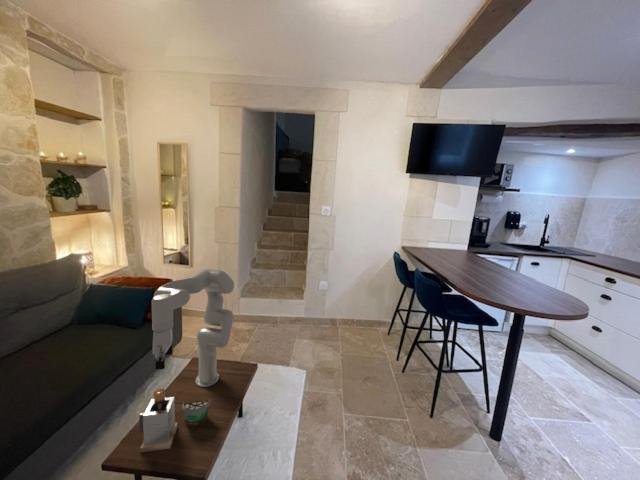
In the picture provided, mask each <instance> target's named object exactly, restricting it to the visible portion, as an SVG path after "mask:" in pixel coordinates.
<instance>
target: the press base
mask: <svg viewBox="0 0 640 480" xmlns="http://www.w3.org/2000/svg"><path fill="white" fill-rule="evenodd" d="M178 427H179V422H176V421H175V425H174V428H173V431H172V433H171V436H170V439H169V442H168V443H161V444H153V445H146V446H144V440H143V441H142V444H141V445H140V449H139V450H140V451H139V453H141V454H142V453H147V452H154V451H161V450H162V451H163V450H169V449H171V447H172V444H173V442H174V438H175V435H176V432H177V429H178Z"/></svg>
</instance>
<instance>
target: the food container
mask: <svg viewBox="0 0 640 480" xmlns="http://www.w3.org/2000/svg"><path fill="white" fill-rule="evenodd" d="M210 405H211V399H210V398H209V399H208V400H196V401H192V402H187V403H186V402H182V405H181V408H182V409H181V410H182V411H183V412H184V420H185V425H186V426H187V427H189V428H190V429H192V428H198V427H201V426H202V425H204V424H205V423H206V421H207V419H208V415H209V410H210V409H209V407H210Z"/></svg>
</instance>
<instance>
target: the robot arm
mask: <svg viewBox="0 0 640 480" xmlns="http://www.w3.org/2000/svg"><path fill="white" fill-rule="evenodd" d="M234 289H235V282H234V280H233V278H232V277H230V275H228V273H226V272H225V271H223V270H219V269H210V268H206V269H203V270H200V271H199V272H197V273H195V274H194V275H192V276H190V277H186V278H185V277H184V278H181V279H175V280H172V281H169V282H167V283H165V284H162V285H161V286H159V287H158V288H157V289H156V290H155V291H154V294H153V298H152V299H151V323H152V325H151V327H152V331H153V334H152V355H153V357H154V361H155V364H154V365H155V370H156V371H157V370H158V371H159V370H165V368H166V366H165V362H166V361H165V359H164V358H165V356H167V355H168V356H170V355H172V354H173V328H174V310H176V309H179V308H182V307H185V306H186V305H187V304H188V302H190V299H191V295H194V294H198V293H200V292H202V291H203V290H205V293H206V296H207V305H206V309H205V313H204V318H203V323H205V324H206V325H208V326H214V327H208V326H207V327H202V328H200V329H199V330H198V332H197V335H196V341H197V342H196V343H197V347H198V375H197V376H196V378H195V384H196V386H197V387H201V388H207V387H211V386H213V385H215V384H217V383H218V382H219V379H220V373H218V371H217V363H218V362H217V361H218V359H217V358H218V357H217V356H218V350H217V348H225V347H227V346H228V344H229V341H230V339H231V333H232V328H233V322H234V313H233V311H232V310H230V309H227V308H226V309H225V308H223V306H224V297H223V294H224V295H228V294H231V293H233V291H234ZM216 327H220V328H216Z"/></svg>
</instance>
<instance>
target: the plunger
mask: <svg viewBox="0 0 640 480" xmlns="http://www.w3.org/2000/svg"><path fill="white" fill-rule="evenodd" d="M165 398H166V390H165V389H164V388H159V389H156V390H155V391H154V392H153V399H154V404H158V411H161V403H163V402H164V401H165Z"/></svg>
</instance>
